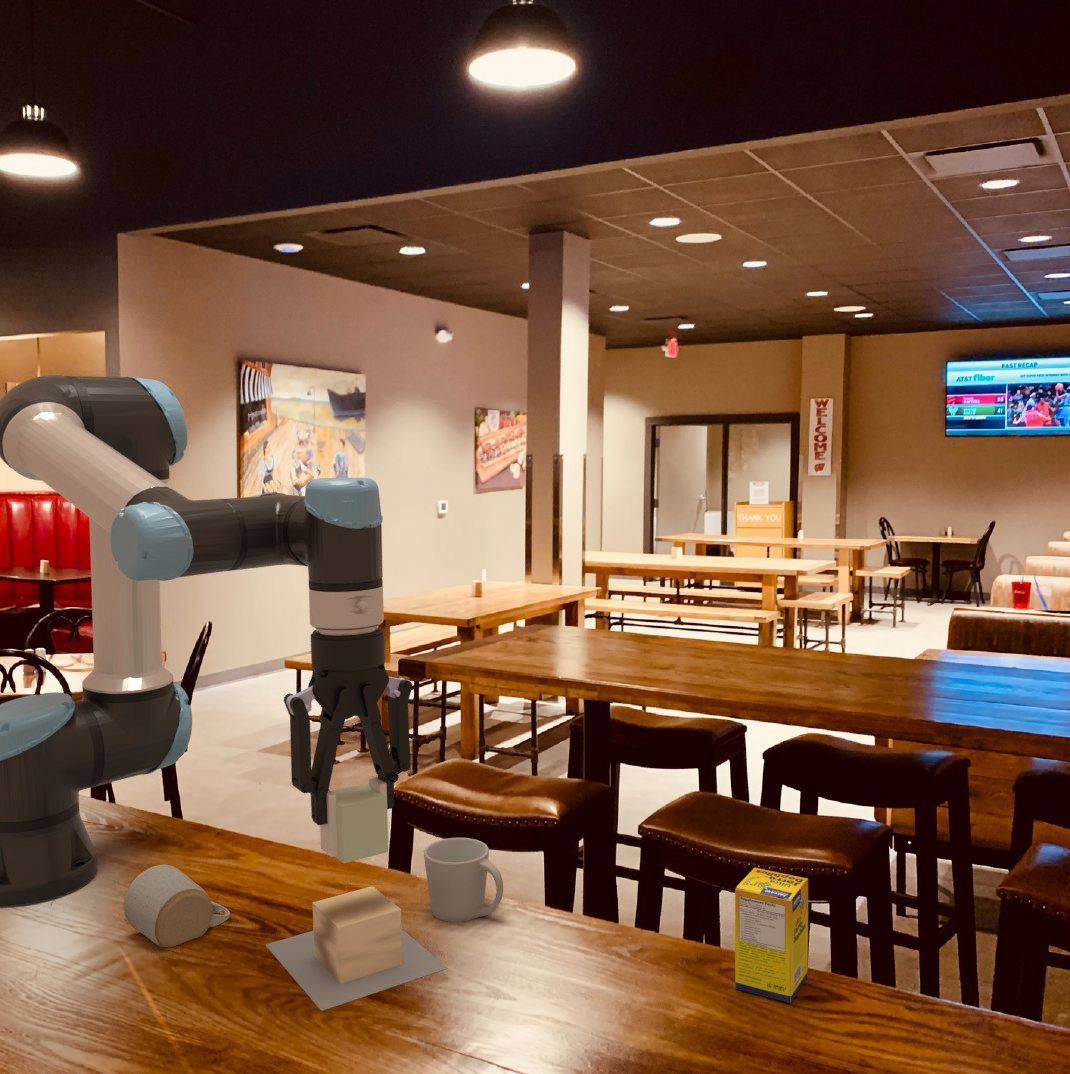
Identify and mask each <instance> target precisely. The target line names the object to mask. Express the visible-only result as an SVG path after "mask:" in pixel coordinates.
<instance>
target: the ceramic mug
mask: <svg viewBox="0 0 1070 1074" xmlns="http://www.w3.org/2000/svg"><path fill="white" fill-rule="evenodd" d="M123 911H124V916H125V918H126V921H127V922H128V924H129V925H130V926H131V927H132V928H133V929H135V930H137V931H138V932H139V933H140V934H142V935H143V936H144V937H146V938H147V939H149V940H150V941H151V942H152V943H154V944H155V945H157V946H158V947H161V948H168V949H169V948H172V947H176V946H179V945H181V944H184V943H186V942H189V941H192V940H193V939H197V938H200V937H202V936H204V935H205V934H206V933H207V931H208V929H209V928H214V927H217V926H218V925H221V924H223V923H224V922H226V921H227V920H228V919H229V918H230V916H231V912H230V910H229V909H227V907H225V906H223V905H222V904H219V903H216V902H214V901H211V898H210V896H209V894H208V893H206V891H205V890H204V889H203V887H201V886H200V885H199V884H198V883H195V882H194V881H193V880H192V879H191V878H190V877H189V876H187V875H186V874H185V873H184V872H183V871H181V870H180V869H179V868H177V867H175V866H173V865H170V864H169V865H168V864H158V865H154V866H151V867H149V868H147V869H145V870H144V871H142V872H141V873H139V874H138V875H137V876H136V877H135V878H134V879H133V881H132V882H131V883H130V885H129V887H128V889H127V890H126V892H125V895H124V900H123ZM219 912H224V914H215V913H219Z"/></svg>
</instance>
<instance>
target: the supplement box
mask: <svg viewBox="0 0 1070 1074" xmlns="http://www.w3.org/2000/svg"><path fill="white" fill-rule="evenodd" d="M734 890H735V891H734V893H735V894H734V906H735V907H734V916H735V917H734V962H735V963H734V975H735V976H734V977H735V980H734V981H735V985H734V986H735V987H734V988H735V989H736V990H740V991H743V992H747V993H751V994H755V995H758V996H762V997H766V998H770V999H773V1000H778V1001H781V1002H785V1003H787V1004H791V1003H792V1002H793V1000H795V998H796V995H797V994H798V993H799V991H800V989H801V988H802V986H803V985H804V983H805V982H806V980H807V979H808V968H809V967H808V966H809V965H808V962H809V961H808V960H809V959H808V954H809V953H808V952H809V948H808V947H809V879H808V878H807V877H802V876H798V875H797V876H795V875H792V874H787V873H781V872H777V871H772V870H767V869H763V868H759V867H753V868H752V869H751V871H749V873H748V874H747V875H746V876H745V877H744V878H743V879H742V880H741V881H740V883H738V884H737V886H736V887H735V889H734Z"/></svg>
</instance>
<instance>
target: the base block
mask: <svg viewBox="0 0 1070 1074" xmlns="http://www.w3.org/2000/svg"><path fill="white" fill-rule="evenodd" d="M312 925H313V926H312V927H313V930H312V931H314V956H315V957H316V958H317V959H318V960H319V961H320V963H321V964H322V965H323V966H324V967H325V968H326V969H327V970H328V971H329V972H330V973H331V974H332V975H333V977H334V978H335V979H336V980H337V981H338V982H339V983H340V984H343V983H346V982H349V981H352V980H355V979H358V978H361V977H364V976H367V975H370V974H373V973H376V972H379V971H383V970H386V969H389V968H392V967H395V966H398V965H401V964H402V929H403V928H402V909H401V908H400V907H399V906H398V905H396V904H395V903H394V902H392V901H391V900H390V899H389V898H387V896H386V895H384V894H383V893H382V892H381V891H379V890H378V889H377V888H376V887H374V886H373V885H372V886H367V887H363V888H361V889H357V890H354V891H349V892H345V893H342V894H339V895H335V896H331V897H328V898H323V899H321V900H317V901H312ZM401 928H402V929H401Z"/></svg>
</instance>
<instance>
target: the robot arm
mask: <svg viewBox="0 0 1070 1074" xmlns="http://www.w3.org/2000/svg"><path fill="white" fill-rule="evenodd" d="M187 446H188V427H187V421H186V416H185V413H184V411H183V408H182V406H181V403H180V401H179V400H178V398H177V397H176V395H175V394H174V392H173V391H172V389H171V388H170V387H168V386H167V385H166V384H165V383H163V382H162V381H159V380H156V379H152V378H151V379H150V378H143V377H134V376H130V375H129V376H88V375H86V376H81V375H54V374H50V375H49V374H48V375H43V376H36V377H32V378H29V379H27V380H24V381H21V382H20V383H18V384H17V385H15V386H13V387H11V388H10V389H9V390H8V391H7V392H5V394H4V395H3V396H2V397H1V398H0V458H1V459H0V460H2V462H4V463H5V464H6V465H7V466H8V468H10V469H12V470H13V471H14V472H16V473H17V474H18V475H20V476H22V477H23V478H27V479H29V480H34V481H42V482H43V483H45V485H47V486H48V487H49V488H51V489H52V490H54V491H55V492H56V493H57V494H58V495H60V496H62V498H63V499H65V500H66V501H68V502H69V503H70V504H71V505H73V506H74V507H75V508H76V509H78V510H79V511H81V513H83V514H85V516H87V517H88V518H89V543H90V545H89V546H90V547H89V548H90V549H89V550H90V551H89V552H90V577H91V578H90V581H91V609H92V611H91V613H92V614H91V615H92V644H93V645H92V646H93V649H92V650H93V669H92V671H91V672H90V673H88V675H87V676H86V677H85V678H83V680H82V686H81V687H82V698H81V699H79V700H75V701H74V700H73V697H72V696H70V695H69V694H67V693H63V692H45V693H41V694H30V695H27V696H22V697H18V698H14V699H12V700H9V701H6V702H3V703H1V704H0V907H10V906H11V907H13V906H24V905H28V904H29V905H31V904H36V903H41V902H44V901H49V900H52V899H57V898H60V897H62V896H65V895H67V894H69V893H73V892H74V891H76V890H79V889H80V888H82V887H84V886H86V885H87V884H88V883H90V882H91V881H92V880H93V879H94V878H95V877H96V875H97V873H98V870H99V869H98V856H97V855H98V853H97V851H96V849H95V846H94V844H93V842H92V839H91V837H90V835H89V832H88V830H87V828H86V825H85V823H84V821H83V819H82V816H81V813H80V798H79V797H80V795H79V793H80V791H83V790H87V789H90V788H91V789H92V788H95V787H98V786H102V785H106V784H110V783H114V782H116V781H120V780H125V779H129V778H133V777H137V776H140V775H141V776H142V775H149V774H152V773H154V772H156V771H157V770H161V769H163V768H166V767H170V766H172V765H174V764H175V763H176V762H178V761H179V760H180V759H181V757H182V756H183V755H184V754H185V753H186V750H187V749H188V745H189V743H190V740H191V736H192V731H193V730H192V729H193V712H192V707H191V705H190V704H189V700H190V699H189V696H188V694H187V692H186V691H185V689H184V688H183V687H182V686H181V685H179V684H178V683H176V682H174V675H173V673H171V672H170V670H168V669H167V668H166V667H165V666H163V664H162V662H163V661H162V627H161V626H162V625H161V624H162V623H161V581H163V582H165V581H167V582H168V581H171V580H175V579H177V578H178V579H179V578H184V577H191V576H192V577H193V576H200V575H201V576H202V575H208V574H214V573H222V572H232V571H239V570H248V569H249V570H250V569H257V568H259V569H260V568H266V567H267V568H268V567H274V566H282V565H283V566H284V565H285V566H287V565H291V566H300V567H301V566H303V567H306V568H307V572H308V573H307V574H308V596H309V597H308V598H309V599H308V601H309V605H308V606H309V625H310V626H311V627H312V628H313V629H315V630H313V631H312V633H311V634H310V656H311V657H310V658H311V659H310V661H311V669H312V670H311V671H312V674H311V677H310V680H309V682H308V685H307V686H308V687H307V688H305V689H303V690H301V691H299V692H297V693H294V694H293V693H289V692H288V693H286V695H285V696H284V697H283V702H284V706H285V708H286V710H287V713H288V715H289V725H290V727H289V729H290V768H291V771H290V772H291V773H290V774H291V775H290V776H291V785H292V786H293V787H294V788H295V789H297V790H298V791H299V792H301V793H303V794H310V808H311V815H310V816H311V819H312V821H313V822H314V824H316V825H317V826H319V829H320V830H319V832H320V849H321V850H322V851H323V853H325V854H326V855H328V856H329V857H330V858H335V856H338V847H337V820H336V794H335V793H333V792H332V791H333V790H331V789H329V788H330V785H331V779H332V774H333V770H334V765H335V760H336V755H337V751H338V745H339V741H340V735H341V731H342V730H343V729H344V726H345V723H346V722H345V721H346V720H348V719H352V718H353V717H357V718H358V719H359V721H360V722H361V727H362V730H363V734H364V736H365V741H366V743H367V747H368V750H369V754H370V757H371V762H372V764H373V767H374V772H375V774H376V776H371V777H368V785H369V786H371V787H372V788H374V789H376V790H377V791H379V792H381V793H382V794H384V795H385V796H386V804H387V810H392V809H393V808H394V805H395V783H396V782H397V781H398V780H399V778H400V777H399V774H401V773H406V772H409V770H410V769H411V747H410V743H411V742H410V740H411V739H410V721H409V719H410V717H409V700H410V697H411V693H412V689H413V684H412V681H410V680H408V679H405V678H404V677H401V676H400V675H399V676H395V677H393V676H390V675H389V672H388V671H387V670H386V667H385V662H386V642H385V639H386V638H385V636H386V635H385V630H383V628H382V627H380V625H381V624H382V623H384V621H385V616H384V615H385V612H384V611H385V610H384V585H383V584H384V583H383V574H384V573H383V539H382V538H383V537H382V536H383V535H382V534H383V533H382V532H383V531H382V527H383V526H382V523H383V515H382V510H381V509H382V508H381V499H380V489H379V485H378V483H377V482H376V481H375V480H373V479H372V478H369V477H327V478H326V477H325V478H323V477H322V478H313V479H310V480H309V481H308V482H307V483H306V485H305V491H304V492H305V493H304V495H297V494H296V495H295V494H285V493H284V492H274V493H273V492H272V493H259V494H255V495H252V496H245V497H243V496H242V497H233V498H232V497H230V498H212V499H196V500H195V499H189V498H187V497H186V496H184V495H183V494H181V493H179V492H178V491H176V490H175V489H173V488H172V487H170V486H169V485H167V484H168V482H169V481H170V467H172V466H174V465H176V464H178V463H179V462H181V460H182V459H183V458H184V456H185V451H186V449H187ZM385 691H386V692H385ZM384 692H385V694H386V696H388V697H387V710H388V711H387V712H388V713H387V714H388V715H387V716H388V717H387V718H388V733H389V734H388V737H389V739H388V740H389V746H388V743H387V739H386V736H385V732H384V729H383V725H382V722H381V720H382V716H381V715H382V714H381V711H380V708H379V705H378V702H379V700H380V699H381V697H382V696H383V693H384ZM314 700H315V701H316V702H317V704H318V705H319V706H320V707H321V711H320V717H319V723H320V727H319V730H318V731H319V732H318V736H317V741H316V746H315V751H314V755H313V761H312V748H311V747H312V744H311V740H312V739H311V719H310V714H309V713H310V712H311V711H312V702H313V701H314ZM388 818H389V817H388V815H387V831H388V832H389V825H388V823H389V819H388Z"/></svg>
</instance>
